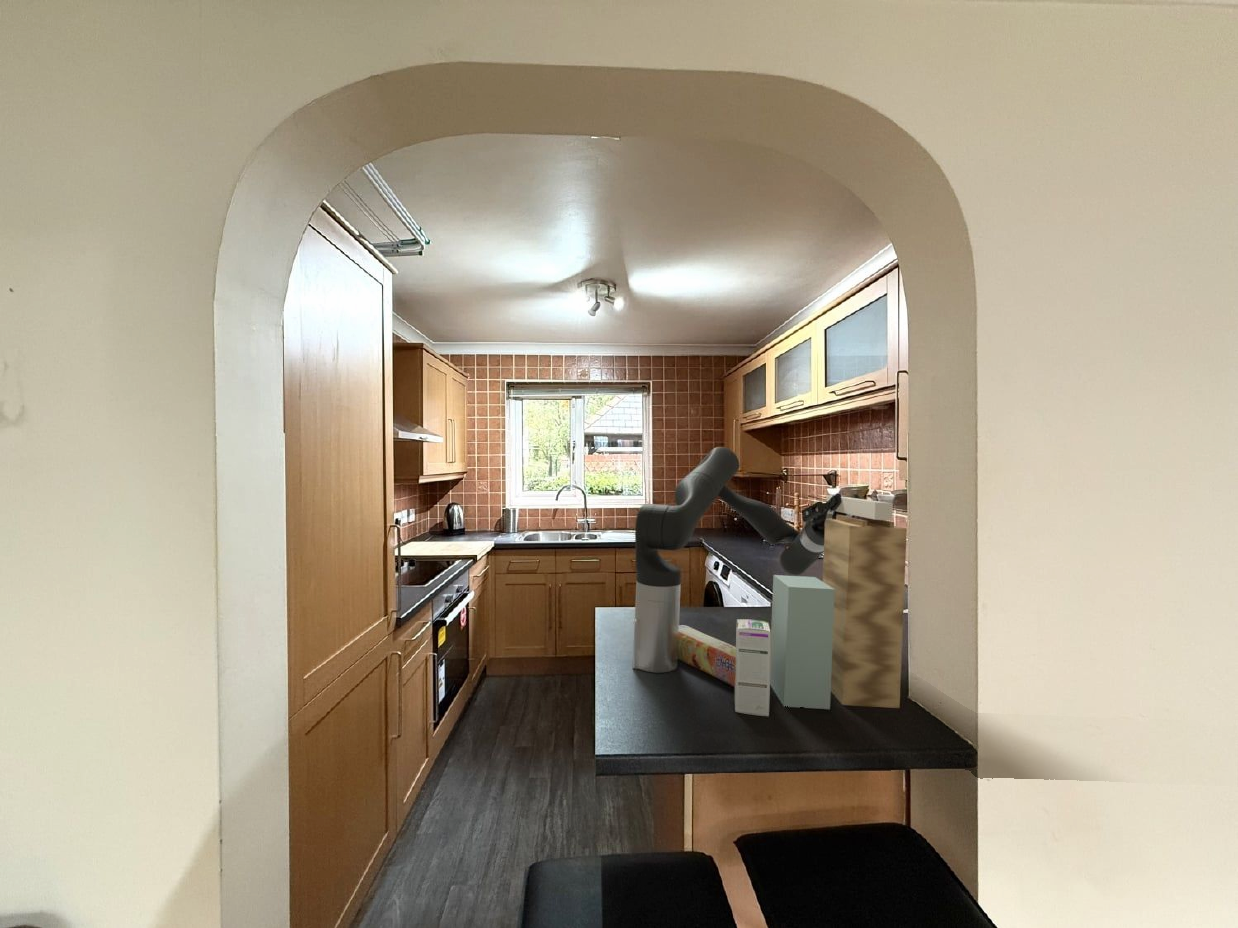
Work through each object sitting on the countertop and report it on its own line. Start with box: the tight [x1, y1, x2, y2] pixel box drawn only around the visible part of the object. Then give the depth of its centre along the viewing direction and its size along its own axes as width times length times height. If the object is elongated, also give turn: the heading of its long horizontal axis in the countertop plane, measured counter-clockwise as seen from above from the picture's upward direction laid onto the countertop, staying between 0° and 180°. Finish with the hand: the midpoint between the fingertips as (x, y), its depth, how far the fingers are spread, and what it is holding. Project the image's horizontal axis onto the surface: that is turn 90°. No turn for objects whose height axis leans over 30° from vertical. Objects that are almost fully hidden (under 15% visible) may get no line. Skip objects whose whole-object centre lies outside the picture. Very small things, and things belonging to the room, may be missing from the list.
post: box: [770, 574, 835, 710], centre depth 95 cm, size 8×10×21 cm
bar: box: [826, 495, 894, 521], centre depth 102 cm, size 3×23×3 cm, turn 178°
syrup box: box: [734, 618, 771, 717], centre depth 90 cm, size 6×6×14 cm
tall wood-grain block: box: [822, 515, 907, 709], centre depth 98 cm, size 10×12×33 cm
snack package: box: [677, 624, 736, 688], centre depth 105 cm, size 21×7×7 cm, turn 36°
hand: (848, 498), depth 105 cm, fingers closed on bar, 3 cm apart
